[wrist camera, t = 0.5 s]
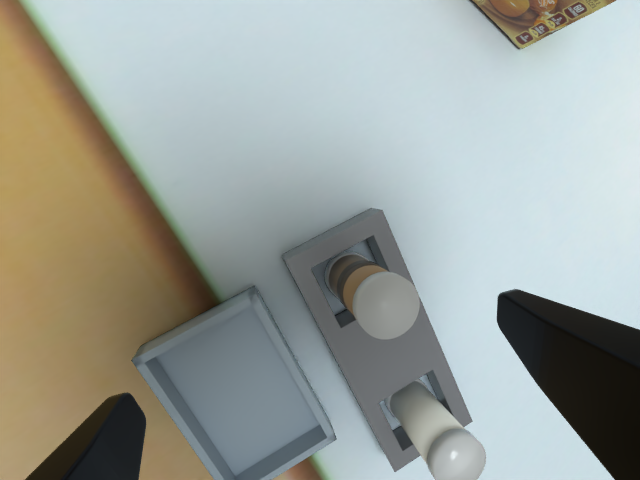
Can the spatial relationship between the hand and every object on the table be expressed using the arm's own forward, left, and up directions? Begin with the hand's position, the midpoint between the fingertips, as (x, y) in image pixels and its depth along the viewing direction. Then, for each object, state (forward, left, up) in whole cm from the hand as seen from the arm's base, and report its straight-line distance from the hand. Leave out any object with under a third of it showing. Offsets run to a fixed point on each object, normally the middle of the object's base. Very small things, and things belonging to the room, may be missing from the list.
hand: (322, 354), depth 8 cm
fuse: (-15, -4, -15) cm, 22 cm away
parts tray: (-8, +6, -15) cm, 18 cm away
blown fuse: (-4, -4, -15) cm, 16 cm away
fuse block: (-10, -4, -15) cm, 18 cm away
